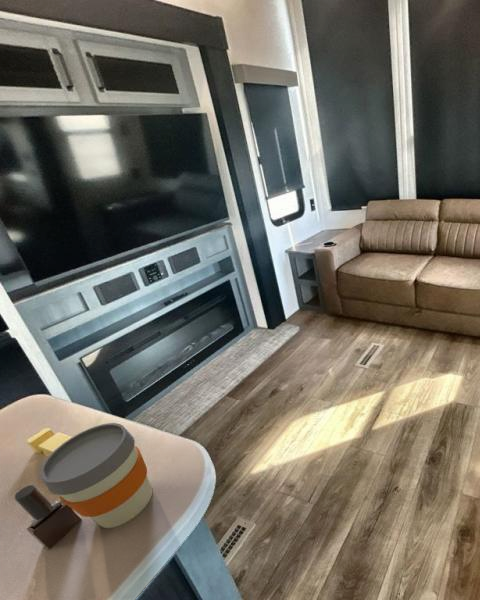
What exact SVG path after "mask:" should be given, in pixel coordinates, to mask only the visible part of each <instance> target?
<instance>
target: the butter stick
mask: <svg viewBox="0 0 480 600" xmlns="http://www.w3.org/2000/svg"><path fill="white" fill-rule="evenodd" d="M54 434H55V435H53V436H52V437H50V438H49V439H48V440H46V441H45V442H43V443H42V444H40V445H39V448H40V449H41V450H42V453H43V454H44V455H45V456H46V457H47V458H48V457H49V456H50V454H52V453H53V452H54V451H55V450H56V449H57V448H58V447H59V446H61V445H62V444H63V443H64V442H66V441H67V440H69V439H70V438H72V437H73V436H70V435H67V434H65V433H61V432H56V433H54Z"/></svg>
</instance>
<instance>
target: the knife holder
mask: <svg viewBox="0 0 480 600" xmlns="http://www.w3.org/2000/svg"><path fill="white" fill-rule="evenodd" d="M57 502H58V503H59V504H60V505H61V506H62V507H61V508H59V509H58V510H57V511H56V512H55V513H54V514H52V515H51V516H50V517H49V518H48V519H46V520H45V521H44V522H43V523H42V524H40V525H39V526H38V527H37V528H36V529H35V528H34V527H33V526H32V525H31V524H30V525H29V526H28V527H27V528H25V530H26V531H27V532H28V533H29V534H30V535H31V536H32V537H33V538H35V540H36V541H37V542H38V543H40V544H41V546H43V547H44V548H46V549H47V550H51V549H52V548H53V547H54V546H55V545H56V544H57V543H58V542H59V541H60V540H62V539H63V538H64V537H65V536H66V535H68V533H70V531H71V530H73V529H74V528H75V527H76V526H77V525H78V524H79V523H80V522H82V518H81V517H80V516H79V514H78V513H77V512H76V511H74V510H73V509H72V508H70V507H69V506H67V505H66V504H65V503H63V502H62V501H61V500H59V501H57Z"/></svg>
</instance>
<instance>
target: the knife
mask: <svg viewBox="0 0 480 600" xmlns="http://www.w3.org/2000/svg"><path fill="white" fill-rule="evenodd" d="M14 500H15V501H16V503H18V504H19V505H20V506H21V508H23V510H25V511H26V512H27V514H28V515H29V516H30V517H31V518H32V519H33V520H31V521H30V522H29V525H30V526H31V525H32V526H33V527H34V528H35V529H36V528H37V527H38V526H39V525H40V524H42V523H43V522H44V521H45V520H46V519H48V518H49V517H50V516H51V515H52V514H54V513H55V512H56V511H57V510H58V509H59V508H61V507H62V506H61V505H60V504H59V503H58V502H59V501H54V503H51V502H50V501H49V500H48V498H46V497H45V495H44V494H43V493H42V492H41V491H40V490H39V489H38V488H37V487H36V486H35V485H34V484H29V485H27V486H24V487H22V488H21V489H20V490H18V492H16V494H15V495H14Z"/></svg>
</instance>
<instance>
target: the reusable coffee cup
mask: <svg viewBox="0 0 480 600" xmlns="http://www.w3.org/2000/svg"><path fill="white" fill-rule="evenodd" d="M71 437H72V438H70V439H69V440H67V441H66V442H64V443H63V444H62V445H61V446H59V447H58V448H57V449H56V450H55V451H54V452H53V453H52V454H50V456H49V457H47V458H46V459H45V460H44V462H43V463H42V465H41V467H40V471H39V476H40V478H41V480H42V482H43V483H44V485H45V486H46V488H47V490H48V492H49V493H51V494H53V495H55V496H56V495H57V496H59V499H60V501H62V502H63V503H65V504H66V505H67V506H69V507H70V508H72V509H73V511H74V512H75V513H76V514H77V515H80V516H81V517H84V518H89V519H91V520H92V521H94V522H95V523H96V524H97V525H99V526H100V527H101V528H105V529H113V528H117V527H119V526H122V525H124V524H126V523H128V522H130V521H131V520H132V519H135V517H136V516H138V515H139V514H140V513H141V512H142V511H143V510H144V509H145V508H146V507H147V505H148V504H149V503H150V501H151V498H152V495H153V487H152V484H151V482H150V480H149V477H148V468H147V464H146V463H145V460H144V458H143V455H142V452H141V450H140V448H139V447H138V446H136V445H135V444H136V440H135V438H134V436H133V435H132V434H131V432H129V430H128V429H127V428H125V426H124V425H123V424H120V423H118V422H116V423H115V422H108V423H107V422H106V423H103V424H98V425H95V426H93V427H90V428H88V429H85V430H83V431H81V432H79V433H77V434H76V435H74V436H71Z"/></svg>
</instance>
